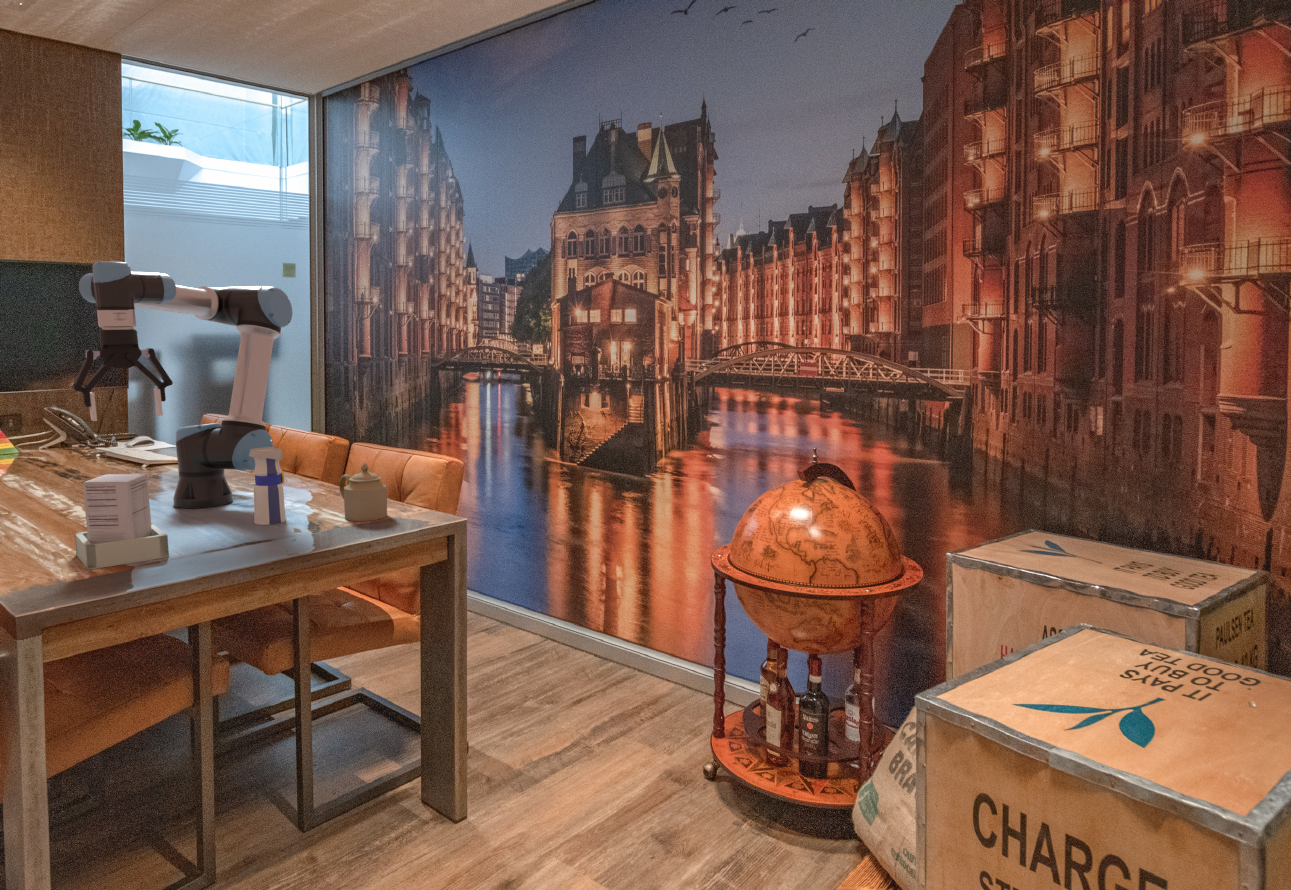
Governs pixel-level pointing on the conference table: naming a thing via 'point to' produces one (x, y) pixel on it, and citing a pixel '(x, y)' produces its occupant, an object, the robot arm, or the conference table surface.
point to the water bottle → (268, 486)
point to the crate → (121, 550)
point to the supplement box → (117, 507)
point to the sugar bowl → (363, 496)
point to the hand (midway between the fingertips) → (127, 417)
